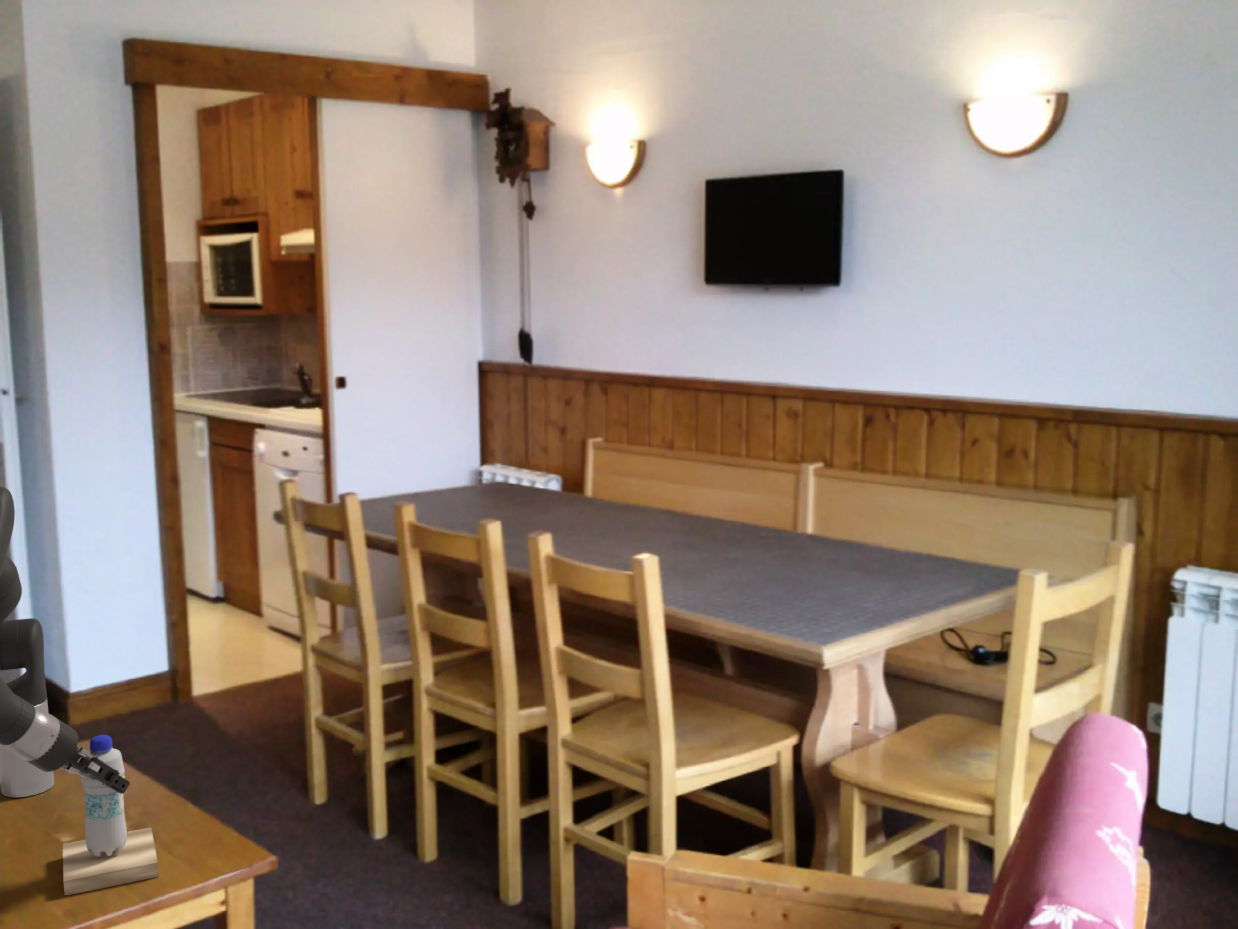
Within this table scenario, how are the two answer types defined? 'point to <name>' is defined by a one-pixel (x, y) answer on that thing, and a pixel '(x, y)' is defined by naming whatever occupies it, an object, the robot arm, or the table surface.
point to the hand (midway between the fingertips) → (112, 782)
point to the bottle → (104, 803)
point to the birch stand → (109, 864)
